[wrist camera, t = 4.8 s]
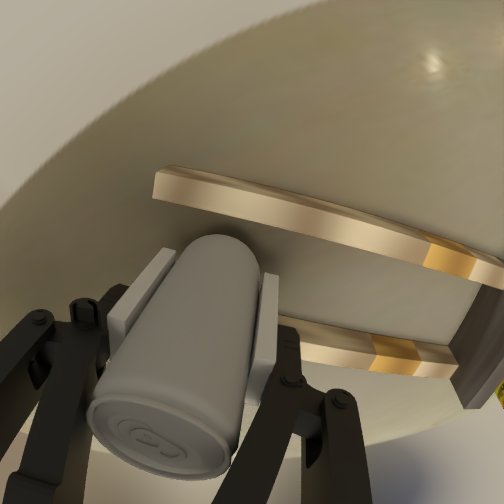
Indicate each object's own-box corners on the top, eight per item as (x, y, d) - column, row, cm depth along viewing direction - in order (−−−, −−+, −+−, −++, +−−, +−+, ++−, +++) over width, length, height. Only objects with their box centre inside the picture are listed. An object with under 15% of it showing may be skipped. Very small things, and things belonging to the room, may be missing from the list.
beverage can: (216, 213, 17) (118, 368, 6) (279, 269, 18) (272, 460, 7) (166, 268, 19) (65, 424, 8) (225, 317, 20) (179, 490, 9)
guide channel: (154, 301, 22) (122, 353, 17) (170, 165, 18) (127, 185, 13) (455, 361, 23) (479, 408, 17) (509, 262, 19) (552, 300, 13)
